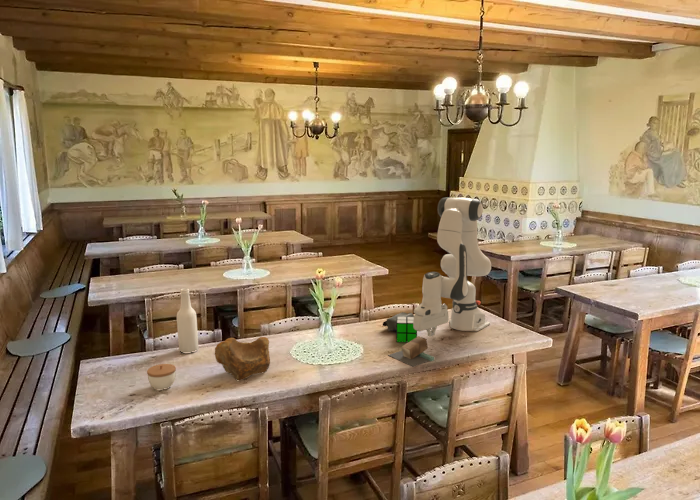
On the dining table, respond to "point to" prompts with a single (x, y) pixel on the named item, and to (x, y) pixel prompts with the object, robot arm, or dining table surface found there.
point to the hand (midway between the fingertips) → (431, 335)
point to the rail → (426, 356)
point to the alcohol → (187, 324)
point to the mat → (411, 362)
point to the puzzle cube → (405, 329)
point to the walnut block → (414, 347)
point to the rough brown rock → (243, 357)
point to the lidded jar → (161, 375)
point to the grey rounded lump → (395, 321)
